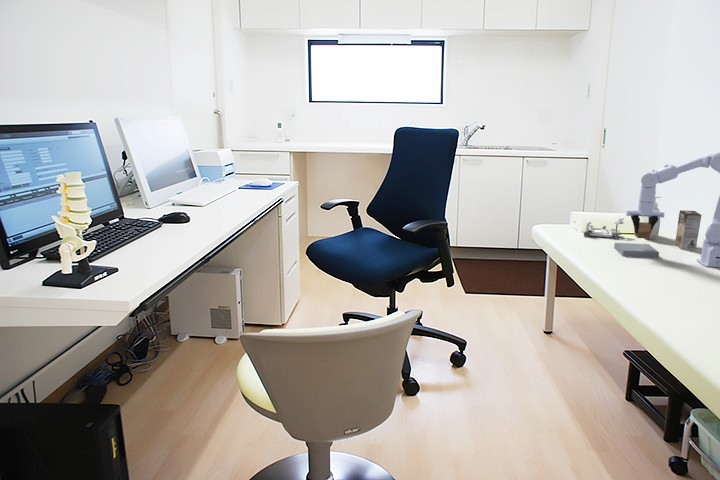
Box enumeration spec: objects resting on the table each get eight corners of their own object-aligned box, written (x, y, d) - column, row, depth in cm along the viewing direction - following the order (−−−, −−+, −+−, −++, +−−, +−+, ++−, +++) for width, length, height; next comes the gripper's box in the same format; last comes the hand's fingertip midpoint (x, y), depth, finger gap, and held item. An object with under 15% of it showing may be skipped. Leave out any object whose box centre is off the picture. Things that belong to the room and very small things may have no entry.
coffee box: (674, 244, 258) (679, 210, 254) (689, 245, 257) (694, 210, 253) (680, 249, 249) (686, 213, 245) (696, 250, 248) (702, 214, 244)
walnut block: (649, 238, 237) (651, 224, 235) (637, 238, 237) (639, 224, 236) (645, 236, 241) (647, 222, 239) (634, 235, 242) (636, 221, 240)
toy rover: (624, 215, 274) (626, 220, 264) (621, 235, 277) (624, 240, 266) (584, 213, 280) (585, 217, 269) (582, 232, 282) (583, 237, 272)
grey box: (658, 259, 235) (659, 252, 234) (622, 257, 237) (623, 250, 237) (647, 250, 248) (648, 244, 248) (613, 249, 251) (614, 242, 250)
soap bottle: (658, 241, 264) (664, 199, 259) (646, 240, 265) (651, 198, 260) (651, 234, 279) (656, 194, 274) (639, 233, 280) (644, 193, 275)
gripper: (662, 200, 238) (657, 232, 241) (625, 199, 241) (621, 230, 244) (667, 203, 231) (663, 235, 235) (630, 202, 234) (626, 233, 237)
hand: (642, 233), depth 239 cm, fingers closed on walnut block, 4 cm apart
